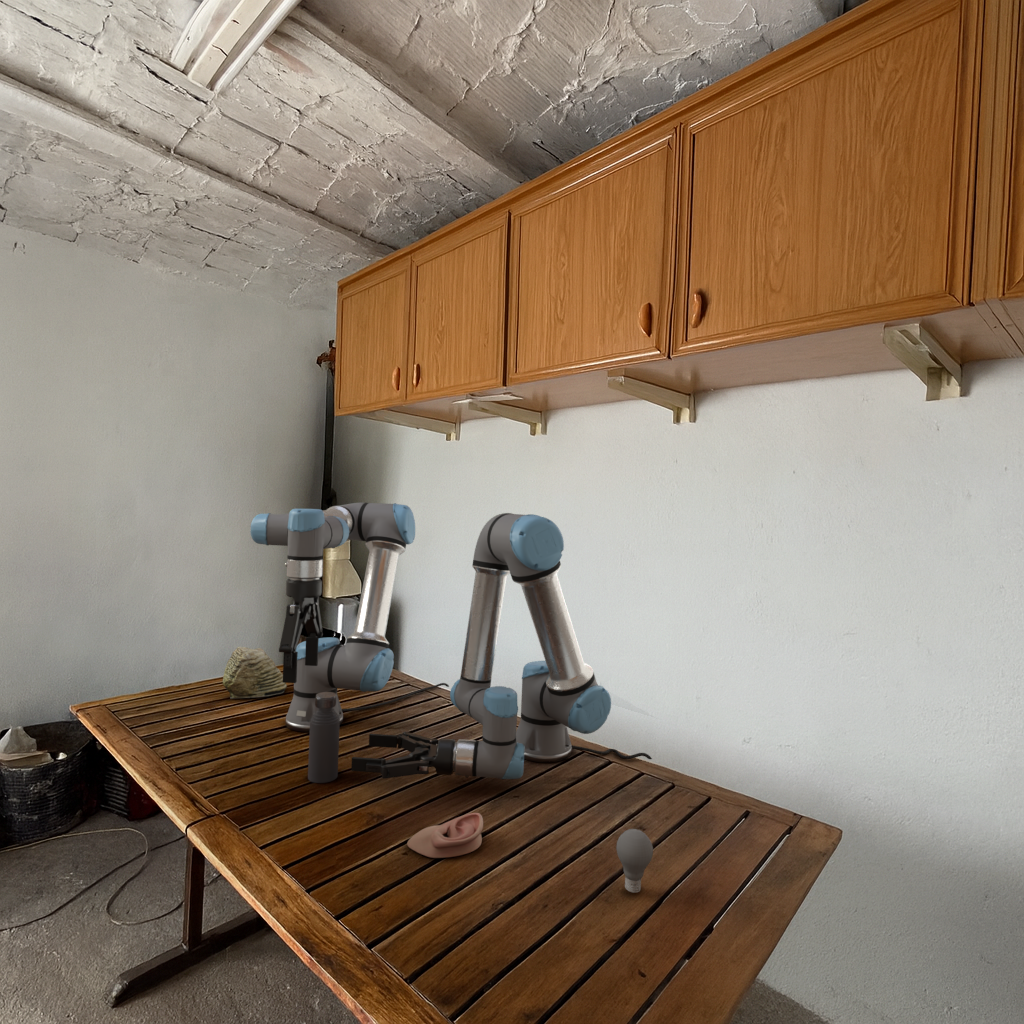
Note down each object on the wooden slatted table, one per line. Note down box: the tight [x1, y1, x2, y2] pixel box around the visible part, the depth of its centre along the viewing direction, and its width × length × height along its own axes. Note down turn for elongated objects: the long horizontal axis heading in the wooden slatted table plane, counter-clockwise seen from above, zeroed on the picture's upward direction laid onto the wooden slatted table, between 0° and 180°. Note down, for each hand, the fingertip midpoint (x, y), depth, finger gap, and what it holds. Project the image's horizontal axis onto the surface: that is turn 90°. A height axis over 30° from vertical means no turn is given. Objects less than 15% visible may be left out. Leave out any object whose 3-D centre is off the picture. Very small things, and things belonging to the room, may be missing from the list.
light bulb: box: [615, 828, 654, 894], centre depth 106 cm, size 6×6×10 cm
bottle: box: [307, 707, 341, 784], centre depth 143 cm, size 6×6×18 cm
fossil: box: [222, 646, 288, 699], centre depth 198 cm, size 9×18×15 cm, turn 132°
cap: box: [315, 692, 336, 709], centre depth 143 cm, size 4×4×2 cm
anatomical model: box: [406, 812, 484, 859], centre depth 118 cm, size 13×4×12 cm
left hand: (301, 673), depth 141 cm, fingers open, 13 cm apart
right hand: (361, 751), depth 142 cm, fingers open, 13 cm apart
